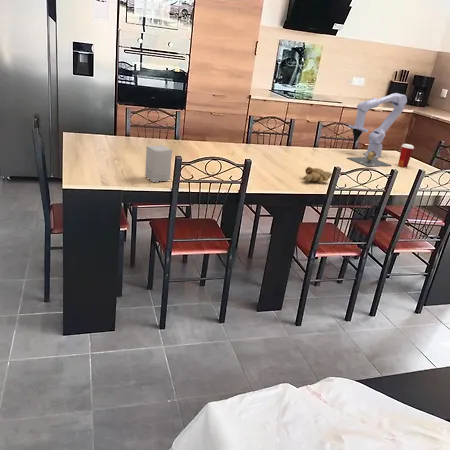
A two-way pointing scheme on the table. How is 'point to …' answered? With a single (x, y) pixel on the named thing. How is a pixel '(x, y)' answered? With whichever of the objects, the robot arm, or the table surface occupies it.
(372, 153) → the lever
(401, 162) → the paper cup
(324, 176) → the ginger root
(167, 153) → the supplement box
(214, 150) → the table surface
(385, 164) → the plate
